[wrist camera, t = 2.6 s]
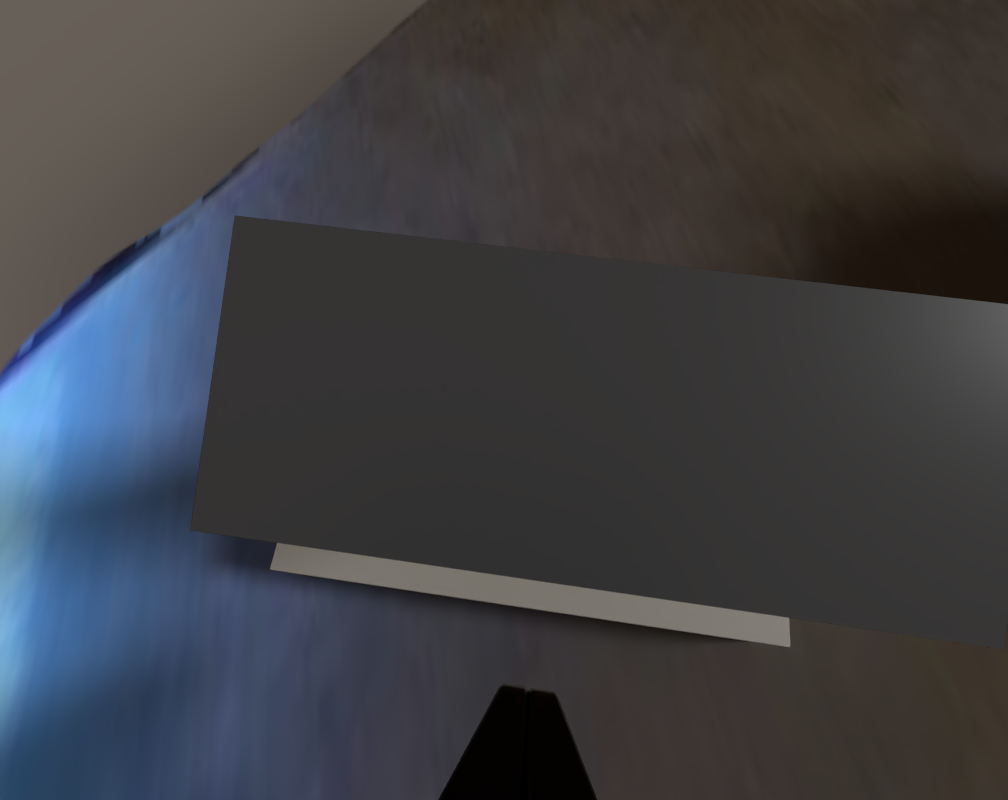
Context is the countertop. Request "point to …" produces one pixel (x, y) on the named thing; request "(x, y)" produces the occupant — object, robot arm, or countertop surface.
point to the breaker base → (533, 595)
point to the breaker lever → (615, 427)
